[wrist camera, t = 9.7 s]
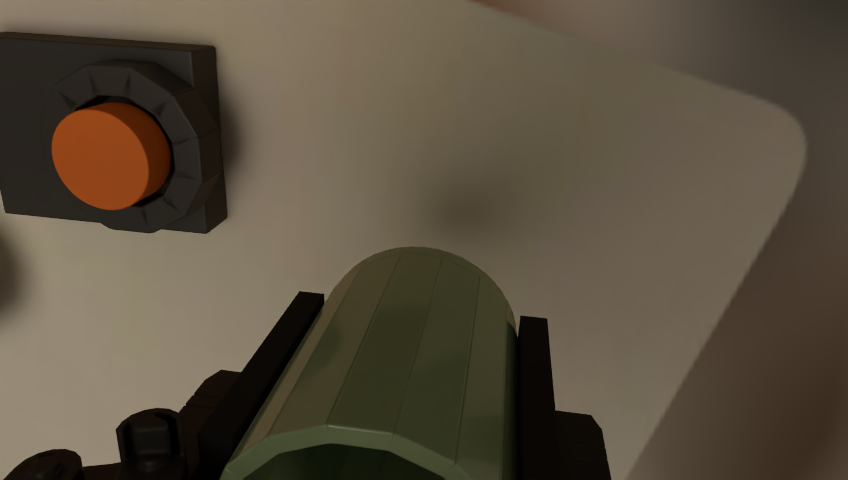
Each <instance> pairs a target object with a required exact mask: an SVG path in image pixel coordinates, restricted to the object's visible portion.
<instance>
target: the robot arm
mask: <svg viewBox="0 0 848 480" xmlns="http://www.w3.org/2000/svg"><path fill="white" fill-rule="evenodd" d="M323 305H324V294H319V293H310V292H301V291H299V293H298V294H297V296H296V297H295V298H294V300H293V301H292V303H291V304H290V305H289V307H288V308H287V309H286V311H285V312H284V314H283V315H282V316H281V318H280V319H279V321H278V322H277V323H276V325H275V326H274V328H273V329H272V330H271V332H270V333H269V334H268V336H267V337H266V339H265V340H264V341H263V343H262V344H261V346H260V347H259V348H258V350H257V351H256V352H255V354H254V355H253V357H252V358H251V359H250V361H249V362H248V364H247V365H246V366H245V368H244V369H243V371H242V372H234V371H226V370H220V371H219V372H217V373H215V374H214V375H212V376H211V377H209V378H207V379H206V380H204V382H203V383H202V384H201V385H200V387H199V388H198V389H197V390H196V392H195V393H194V396H192V397H191V398H190V399H189V400H188V402H187V403H186V406H184V407H183V408H182V409H181V410H180V412H179V413H178V412H175V411H173V410H170V409H164V408H154V409H148V410H143V411H141V412H138V413H135V414H133V415H131V416H129V417H128V418H127V419H125V420H124V421H122V422H121V424H120V425H119V426H118V428H117V429H116V434H117V440H118V446H119V452H120V458H121V462H119V463H114V464H106V465H96V466H86V467H83V466H82V461H81V457H80V456H79V455H78V454H77V453H76V452H74V451H70V450H67V449H53V450H49V451H45V452H41V453H38V454H36V455H34V456H32V457H30V458H27V459H25V460H24V461H23V462H22V463H20V464H19V465H18V466H17V467H15V468H14V469H13V470H12V471H11V472H10V473H9V474H8V475H7V476H6V478H5V479H4V480H219V479H220V477H221V474H222V472H223V470H224V468H225V466H226V464H227V463H228V461H229V459H230V458H231V456H232V454H233V453H234V451H235V450H236V448H237V446H238V445H239V443H240V441H241V440H242V438H243V436H244V435H245V433H246V432H247V430H248V428H249V427H250V425H251V423H252V422H253V420H254V418H255V417H256V415H257V413H258V412H259V410H260V409H261V407H262V405H263V404H264V402H265V400H266V399H267V397H268V395H269V394H270V392H271V391H272V389H273V387H274V386H275V384H276V382H277V381H278V379H279V377H280V376H281V374H282V372H283V371H284V369H285V368H286V366H287V364H288V363H289V361H290V359H291V358H292V356H293V354H294V353H295V351H296V350H297V348H298V346H299V345H300V343H301V341H302V340H303V338H304V336H305V335H306V333H307V332H308V330H309V328H310V327H311V325H312V323H313V322H314V320H315V318H316V317H317V315H318V313H319V312H320V310H321V309H322V307H323ZM518 480H611V475H610V470H609V465H608V461H607V454H606V449H605V444H604V439H603V433H602V429H601V428H600V427H599V425H598V424H597V423H596V421H595V420H594V419H593V417H592V416H591V415H587V414H579V413H571V412H563V411H555V402H554V390H553V379H552V368H551V357H550V345H549V334H548V323H547V319H546V318H537V317H528V316H521V317H520V325H519V333H518Z"/></svg>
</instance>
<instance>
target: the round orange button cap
mask: <svg viewBox="0 0 848 480" xmlns="http://www.w3.org/2000/svg"><path fill="white" fill-rule="evenodd" d="M52 157H53V161H54V165H55V168H56V170H57V172H58V174H59V176H60V178H61V180H62V181H63V183H64V184H65V185H66V187H67V188H68V189H69V190H70V191H71V192H72V193H73V194H74V195H75V196H77V197H78V198H79V199H81V200H82V201H84V202H85V203H87V204H89V205H91V206H94V207H97V208H100V209H106V210H119V209H123V208H127V207H129V206H131V205H133V204H135V203H136V202H138V201H140V200H142V199H144V198H145V197H147V196H149V195H151V194H153V193H154V192H156V191H157V190H158V189H159V188H161V186H162V185H163V184H164V183H165V181H166V179H167V177H168V175H169V171H170V167H171V153H170V148H169V144H168V141H167V139H166V137H165V135H164V133H163V131H162V129H161V128H160V127H159V125H158V124H157V123H156V122H155V121H154V119H152V118H151V117H150V116H149V115H148V114H147V113H145V112H144V111H142V110H141V109H139V108H137V107H135V106H132V105H130V104H126V103H122V102H108V103H103V104H100V105H96V106H92V107H89V108H85V109H81V110H78V111H75V112H73V113H71V114H69V115H67V116H66V117H65V118H64V119H63V120H62V121H61V122H60V123H59V125H58V126H57V128H56V130H55V132H54V135H53V139H52Z"/></svg>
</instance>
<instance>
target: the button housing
mask: <svg viewBox="0 0 848 480" xmlns="http://www.w3.org/2000/svg"><path fill="white" fill-rule="evenodd" d="M108 102H122V103H126V104H130V105H132V106H135V107H137V108H139V109H141V110H142V111H144V112H145V113H147V114H148V115H149V116H150V117H151V118H152V119H154V121H155V122H156V123H157V124H158V125H159V127H160V128H161V129H162V131H163V133H164V135H165V137H166V139H167V141H168V144H169V148H170V153H171V167H170V171H169V175H168V177H167V179H166V181H165V183H164V184H163V185H162V186H161V188H159V189H158V190H157V191H156V192H154V193H153V194H151V195H149V196H147V197H145V198H144V199H142V200H140V201H138V202H136V203H135V204H133V205H131V206H129V207H127V208H123V209H119V210H106V209H100V208H97V207H94V206H91V205H89V204H87V203H85V202H84V201H82V200H81V199H79V198H78V197H77V196H75V195H74V194H73V193H72V192H71V191H70V190H69V189H68V188H67V187H66V185H65V184H64V183H63V181H62V180H61V178H60V176H59V174H58V172H57V170H56V168H55V165H54V161H53V157H52V139H53V135H54V132H55V130H56V128H57V126H58V125H59V123H60V122H61V121H62V120H63V119H64V118H65V117H66V116H67V115H69V114H71V113H73V112H75V111H78V110H81V109H85V108H89V107H92V106H96V105H100V104H103V103H108ZM0 191H1V195H2V200H3V205H4V209H5V212H6V213H10V214H20V215H30V216H39V217H49V218H59V219H68V220H78V221H88V222H97V223H102V224H103V225H105V226H106V227H108V228H110V229H114V230H124V231H133V232H143V233H154V232H156V231H158V230H160V229H165V230H174V231H184V232H194V233H203V234H207V233H208V232H210V231H211V230H212V229H214V228H215V227H216V226H217V225H219V224H220V223H221V222H223V221H224V220H225V219H226V218H227V209H226V196H225V182H224V168H223V154H222V141H221V127H220V113H219V100H218V86H217V72H216V58H215V47H214V46H207V45H192V44H177V43H163V42H148V41H133V40H119V39H104V38H89V37H75V36H60V35H45V34H31V33H16V32H0Z"/></svg>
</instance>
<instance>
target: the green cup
mask: <svg viewBox="0 0 848 480" xmlns="http://www.w3.org/2000/svg"><path fill="white" fill-rule="evenodd" d="M219 480H518V337H517V329H516V323H515V319H514V315H513V312H512V309H511V307H510V305H509V302H508V301H507V299H506V297H505V296H504V294H503V292H502V291H501V289H500V288H499V287H498V286H497V284H496V283H495V282H494V281H493V280H492V279H491V278H490V277H489V276H488V275H487V274H486V273H485V272H483V271H482V270H481V269H479V268H478V267H477V266H475V265H474V264H472V263H471V262H469V261H467V260H465V259H464V258H461V257H459V256H457V255H454V254H452V253H449V252H446V251H442V250H439V249H433V248H427V247H400V248H394V249H390V250H385V251H383V252H380V253H377V254H374V255H372V256H370V257H368V258H366V259H364V260H363V261H361V262H360V263H358V264H357V265H355V266H354V267H353V268H352V269H351V270H350V271H349V272H348V273H346V274H345V276H344V277H343V278H342V279H341V281H340V282H339V283H338V284H337V285H336V286H335V288H334V289H333V291H332V292H331V294H330V295H329V297H328V299H327V300H326V302H325V304H324V305H323V307H322V309H321V310H320V312H319V313H318V315H317V317H316V318H315V320H314V322H313V323H312V325H311V327H310V328H309V330H308V332H307V333H306V335H305V336H304V338H303V340H302V341H301V343H300V345H299V346H298V348H297V350H296V351H295V353H294V354H293V356H292V358H291V359H290V361H289V363H288V364H287V366H286V368H285V369H284V371H283V372H282V374H281V376H280V377H279V379H278V381H277V382H276V384H275V386H274V387H273V389H272V391H271V392H270V394H269V395H268V397H267V399H266V400H265V402H264V404H263V405H262V407H261V409H260V410H259V412H258V413H257V415H256V417H255V418H254V420H253V422H252V423H251V425H250V427H249V428H248V430H247V432H246V433H245V435H244V436H243V438H242V440H241V441H240V443H239V445H238V446H237V448H236V450H235V451H234V453H233V454H232V456H231V458H230V459H229V461H228V463H227V464H226V466H225V468H224V470H223V472H222V474H221V477H220V479H219Z"/></svg>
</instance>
